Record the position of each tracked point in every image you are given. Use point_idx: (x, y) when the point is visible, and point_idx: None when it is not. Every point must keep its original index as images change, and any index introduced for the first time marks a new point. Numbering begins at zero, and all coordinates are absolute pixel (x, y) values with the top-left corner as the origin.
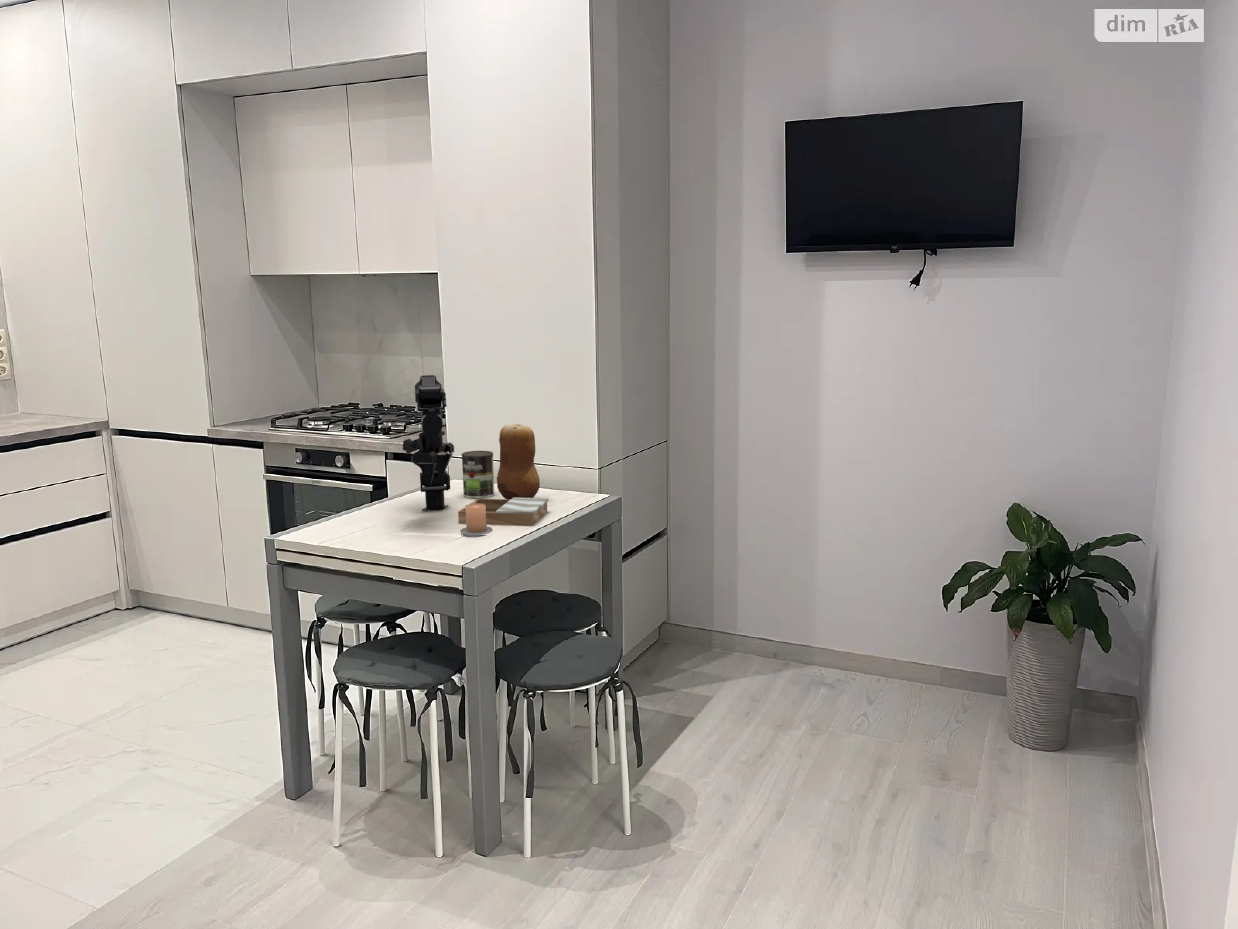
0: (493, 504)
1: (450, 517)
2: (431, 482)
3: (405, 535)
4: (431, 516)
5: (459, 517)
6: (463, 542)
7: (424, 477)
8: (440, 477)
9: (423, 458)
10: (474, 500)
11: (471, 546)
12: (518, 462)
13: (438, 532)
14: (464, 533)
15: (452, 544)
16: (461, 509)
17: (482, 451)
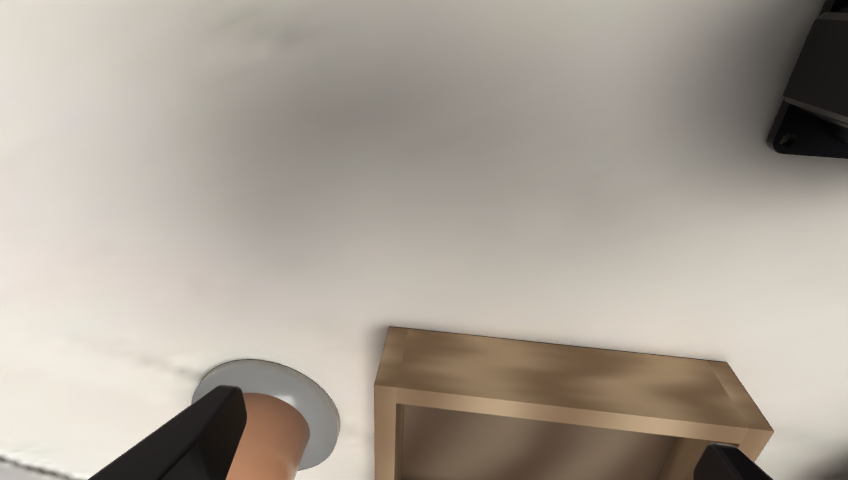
0: (691, 473)
1: (579, 246)
2: (227, 456)
3: (98, 92)
4: (628, 105)
5: (381, 363)
6: (118, 392)
7: (93, 477)
8: (708, 470)
9: None
10: (706, 423)
11: (84, 422)
12: None
13: (227, 263)
14: (194, 393)
15: (72, 361)
16: (435, 393)
17: None
